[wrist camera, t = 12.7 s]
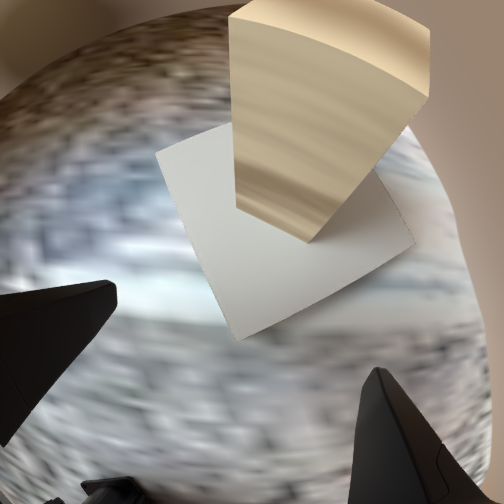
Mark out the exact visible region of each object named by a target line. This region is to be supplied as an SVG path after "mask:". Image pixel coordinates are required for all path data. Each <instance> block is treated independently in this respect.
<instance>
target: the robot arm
mask: <svg viewBox="0 0 504 504" xmlns="http://www.w3.org/2000/svg"><path fill="white" fill-rule="evenodd" d="M117 303H118V302H117V288H116V285H115V283H113V282H111V281H109V280H100V281H93V282H87V283H80V284H73V285H67V286H60V287H53V288H46V289H40V290H33V291H26V292H19V293H12V294H4V295H0V445H1V446H2V447H3V448H4V447H5V446H6V445H7V443H8V442H9V441H10V439H11V438H12V437H13V435H14V434H15V432H16V431H17V430H18V428H19V427H20V426H21V425H22V423H23V422H24V421H25V419H26V418H27V417H28V415H29V414H30V413H31V411H32V410H33V409H34V408H35V406H36V405H37V404H38V403H39V401H40V400H41V399H42V398H43V396H44V395H45V394H46V393H47V392H48V390H49V389H50V388H51V387H52V385H53V384H54V383H55V382H56V381H57V380H58V378H59V377H60V376H61V375H62V374H63V372H64V371H65V370H66V369H67V368H68V367H69V365H70V364H71V363H72V362H73V361H74V360H75V359H76V357H77V356H78V355H79V354H80V353H81V352H82V351H83V350H84V348H85V347H86V346H87V345H88V344H89V343H90V342H91V341H92V339H93V338H94V337H95V336H96V335H97V333H98V332H99V331H100V329H101V328H102V326H103V325H104V324H105V322H106V321H107V320H108V318H109V317H110V316H111V314H112V313H113V312H114V311H115V309H116V307H117ZM127 481H129V482H130V483H129V482H127ZM81 487H82V488H83V490H84V491H85V492H86V494H87V495H88V496H89V497H88V498H87V499H86V500H85V501H84V502H83V503H82V504H152V502H151V501H150V500H149V499H148V498H147V497H146V495H145V494H144V493H143V492H142V490H141V489H140V488H139V486H138V485H137V484H136V482H135V481H134V480H133V479H132V478H130V477H121V478H113V479H104V480H93V481H83V482H82V483H81ZM0 504H12V503H11V502H10V501H9V500H8V499H7V498H6V497H5V495H4V494H3V493H2V492H1V491H0ZM44 504H65V503H64V501H63V500H61V499H60V498H59V497H57V498H56V499H54V500H52V499H51V500H49V501H47V502H46V503H44ZM348 504H500V503H496V502H494V501H492V500H490V499H489V498H488V497H487V496H486V495H485V494H484V493H483V492H482V491H481V490H480V489H479V487H478V486H477V485H476V484H475V483H474V482H473V480H472V479H471V478H470V477H469V476H468V475H467V473H466V472H465V471H464V470H463V469H462V467H461V466H460V465H459V464H458V463H457V461H456V460H455V459H454V457H453V456H452V455H451V453H450V452H449V451H448V449H447V448H446V446H445V445H444V444H443V443H442V441H441V440H440V438H439V437H438V435H437V434H436V433H435V431H434V430H433V429H432V427H431V426H430V425H429V423H428V422H427V421H426V419H425V418H424V416H423V415H422V414H421V412H420V411H419V410H418V408H417V407H416V406H415V405H414V403H413V402H412V401H411V399H410V398H409V397H408V395H407V394H406V393H405V391H404V390H403V389H402V387H401V386H400V385H399V384H398V382H397V381H396V380H395V378H394V377H393V376H392V375H391V373H390V372H389V371H388V370H387V369H385V368H380V367H375V368H374V369H373V370H372V371H371V373H370V375H369V376H368V378H367V380H366V381H365V383H364V385H363V387H362V391H361V398H360V404H359V411H358V417H357V423H356V429H355V440H354V453H353V464H352V474H351V482H350V490H349V497H348Z"/></svg>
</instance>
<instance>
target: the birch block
mask: <svg viewBox="0 0 504 504" xmlns="http://www.w3.org/2000/svg"><path fill="white" fill-rule="evenodd" d="M228 18H229V54H230V83H231V109H232V132H233V154H234V175H235V194H236V208H237V209H239V210H241V211H243V212H245V213H247V214H250V215H252V216H254V217H256V218H258V219H260V220H262V221H264V222H266V223H268V224H270V225H272V226H274V227H276V228H278V229H280V230H282V231H284V232H286V233H288V234H290V235H292V236H294V237H296V238H297V239H299V240H301V241H303V242H305V243H307V244H308V243H309V242H310V241H311V240H312V238H313V237H314V236H315V235H316V234H317V233H318V232H319V231H320V229H321V228H322V227H323V226H324V225H325V224H326V223H327V221H328V220H329V219H330V218H331V217H332V216H333V214H334V213H335V212H336V211H337V210H338V209H339V208H340V206H341V205H342V204H343V203H344V202H345V201H346V199H347V198H348V197H349V196H350V195H351V193H352V192H353V191H354V190H355V189H356V188H357V186H358V185H359V184H360V183H361V182H362V180H363V179H364V178H365V177H366V176H367V174H368V173H369V172H370V171H371V170H372V168H373V167H374V166H375V165H376V163H377V162H378V161H379V160H380V159H381V157H382V156H383V155H384V154H385V152H386V151H387V150H388V149H389V147H390V146H391V145H392V144H393V143H394V141H395V140H396V139H397V138H398V136H399V135H400V134H401V132H402V131H403V130H404V129H405V127H406V126H407V125H408V124H409V122H410V121H411V120H412V118H413V117H414V116H415V115H416V113H417V112H418V111H419V109H420V108H421V107H422V106H423V104H424V103H425V102H426V100H427V99H428V97H429V82H430V30H429V29H427V28H426V27H424V26H423V25H421V24H419V23H417V22H415V21H414V20H412V19H410V18H408V17H406V16H405V15H403V14H401V13H399V12H397V11H395V10H393V9H390V8H388V7H387V6H385V5H382V4H380V3H378V2H376V1H374V0H253V1H251V2H250V3H248V4H247V5H245V6H243V7H242V8H240V9H239V10H237V11H236V12H234V13H233V14H231V15H230V16H228Z"/></svg>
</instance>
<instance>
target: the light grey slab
mask: <svg viewBox="0 0 504 504" xmlns="http://www.w3.org/2000/svg"><path fill="white" fill-rule="evenodd" d="M155 155H156V158H157V160H158V163H159V166H160V168H161V171H162V174H163V176H164V179H165V181H166V184H167V186H168V189H169V191H170V194H171V196H172V199H173V201H174V204H175V206H176V209H177V211H178V214H179V216H180V219H181V221H182V223H183V226H184V228H185V231H186V233H187V235H188V238H189V240H190V242H191V245H192V247H193V249H194V251H195V254H196V256H197V258H198V261H199V263H200V265H201V267H202V270H203V272H204V274H205V276H206V278H207V281H208V283H209V285H210V287H211V289H212V292H213V294H214V296H215V298H216V300H217V302H218V304H219V307H220V309H221V311H222V313H223V315H224V317H225V319H226V321H227V323H228V325H229V327H230V329H231V332H232V334H233V336H234V338H235V340H236V342H238V341H240V340H243V339H245V338H247V337H249V336H251V335H253V334H255V333H257V332H259V331H262V330H264V329H266V328H268V327H270V326H272V325H274V324H276V323H278V322H280V321H282V320H284V319H286V318H288V317H290V316H292V315H294V314H295V313H297V312H299V311H301V310H303V309H305V308H307V307H309V306H311V305H313V304H314V303H316V302H318V301H320V300H322V299H324V298H326V297H327V296H329V295H331V294H333V293H335V292H336V291H338V290H340V289H342V288H343V287H345V286H347V285H349V284H350V283H352V282H354V281H356V280H357V279H359V278H361V277H362V276H364V275H366V274H368V273H369V272H371V271H373V270H374V269H376V268H378V267H379V266H381V265H382V264H384V263H386V262H387V261H389V260H391V259H392V258H394V257H395V256H397V255H399V254H400V253H402V252H403V251H405V250H406V249H408V248H409V247H411V246H412V245H414V244H416V243H415V241H414V239H413V237H412V235H411V233H410V231H409V229H408V227H407V226H406V224H405V222H404V220H403V218H402V216H401V215H400V213H399V211H398V209H397V207H396V206H395V204H394V202H393V200H392V199H391V197H390V195H389V194H388V192H387V190H386V189H385V187H384V185H383V184H382V182H381V180H380V179H379V177H378V176H377V174H376V173H375V171H374V169H373V168H372V170H371V171H370V172H369V173H368V174H367V176H366V177H365V178H364V179H363V180H362V182H361V183H360V184H359V185H358V186H357V188H356V189H355V190H354V191H353V192H352V193H351V195H350V196H349V197H348V198H347V199H346V201H345V202H344V203H343V204H342V205H341V206H340V208H339V209H338V210H337V211H336V212H335V213H334V214H333V216H332V217H331V218H330V219H329V220H328V221H327V223H326V224H325V225H324V226H323V227H322V228H321V229H320V231H319V232H318V233H317V234H316V235H315V236H314V237H313V238H312V240H311V241H310V242H309V243H308V244H307V243H305V242H303V241H301V240H299V239H297V238H296V237H294V236H292V235H290V234H288V233H286V232H284V231H282V230H280V229H278V228H276V227H274V226H272V225H270V224H268V223H266V222H264V221H262V220H260V219H258V218H256V217H254V216H252V215H250V214H247V213H245V212H243V211H241V210H239V209H237V208H236V194H235V175H234V154H233V132H232V122H230V123H227V124H224V125H222V126H219V127H216V128H213V129H211V130H208V131H206V132H203V133H201V134H198V135H196V136H193V137H191V138H188V139H186V140H183V141H181V142H179V143H176V144H174V145H172V146H170V147H167V148H165V149H163V150H161V151H159V152H156V153H155Z"/></svg>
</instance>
